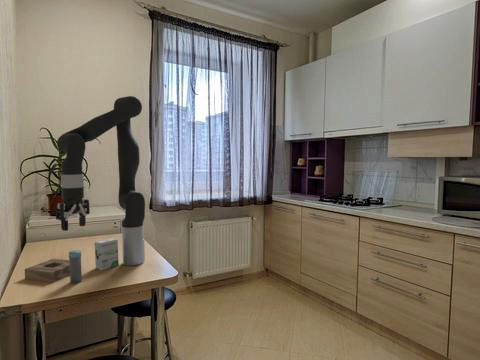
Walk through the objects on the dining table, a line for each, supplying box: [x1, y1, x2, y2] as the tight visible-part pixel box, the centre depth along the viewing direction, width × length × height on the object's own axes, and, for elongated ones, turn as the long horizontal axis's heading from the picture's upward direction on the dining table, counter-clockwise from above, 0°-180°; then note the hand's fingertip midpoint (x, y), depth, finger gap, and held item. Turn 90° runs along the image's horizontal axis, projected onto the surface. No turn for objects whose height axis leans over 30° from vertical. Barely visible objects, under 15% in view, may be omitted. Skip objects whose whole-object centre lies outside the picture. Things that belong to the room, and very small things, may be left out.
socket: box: [24, 258, 70, 283], centre depth 132 cm, size 14×14×4 cm
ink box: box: [94, 238, 120, 271], centre depth 141 cm, size 9×5×12 cm, turn 141°
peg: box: [68, 249, 83, 285], centre depth 124 cm, size 4×4×12 cm
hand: (74, 228), depth 123 cm, fingers open, 8 cm apart
